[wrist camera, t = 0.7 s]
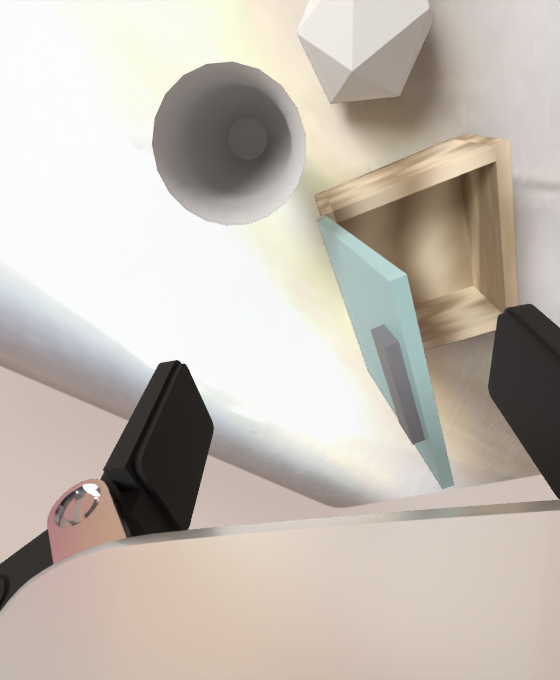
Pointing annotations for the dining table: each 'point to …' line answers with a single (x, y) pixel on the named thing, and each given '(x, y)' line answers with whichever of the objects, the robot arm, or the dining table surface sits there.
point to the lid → (389, 339)
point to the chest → (441, 231)
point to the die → (364, 45)
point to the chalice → (229, 143)
